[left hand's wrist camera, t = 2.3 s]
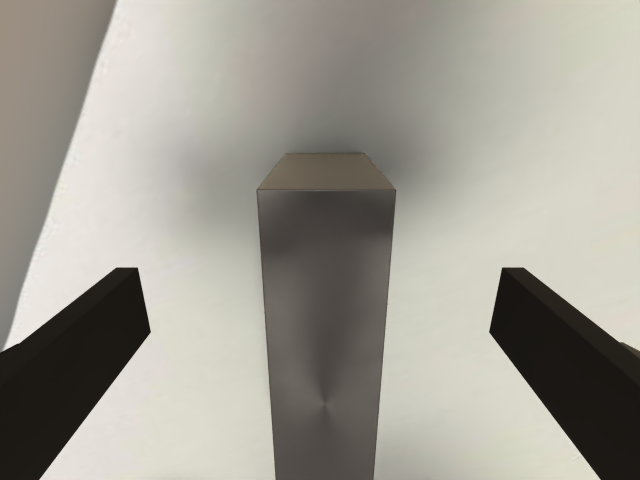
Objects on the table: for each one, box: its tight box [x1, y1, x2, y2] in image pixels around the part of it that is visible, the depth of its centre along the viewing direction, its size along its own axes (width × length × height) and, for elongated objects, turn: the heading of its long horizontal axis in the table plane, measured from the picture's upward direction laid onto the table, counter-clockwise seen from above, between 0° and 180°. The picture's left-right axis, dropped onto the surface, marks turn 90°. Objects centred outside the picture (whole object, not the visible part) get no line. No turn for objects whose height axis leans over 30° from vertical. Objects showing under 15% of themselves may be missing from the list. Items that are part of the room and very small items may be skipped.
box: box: [257, 153, 396, 480], centre depth 25 cm, size 24×6×12 cm, turn 0°
